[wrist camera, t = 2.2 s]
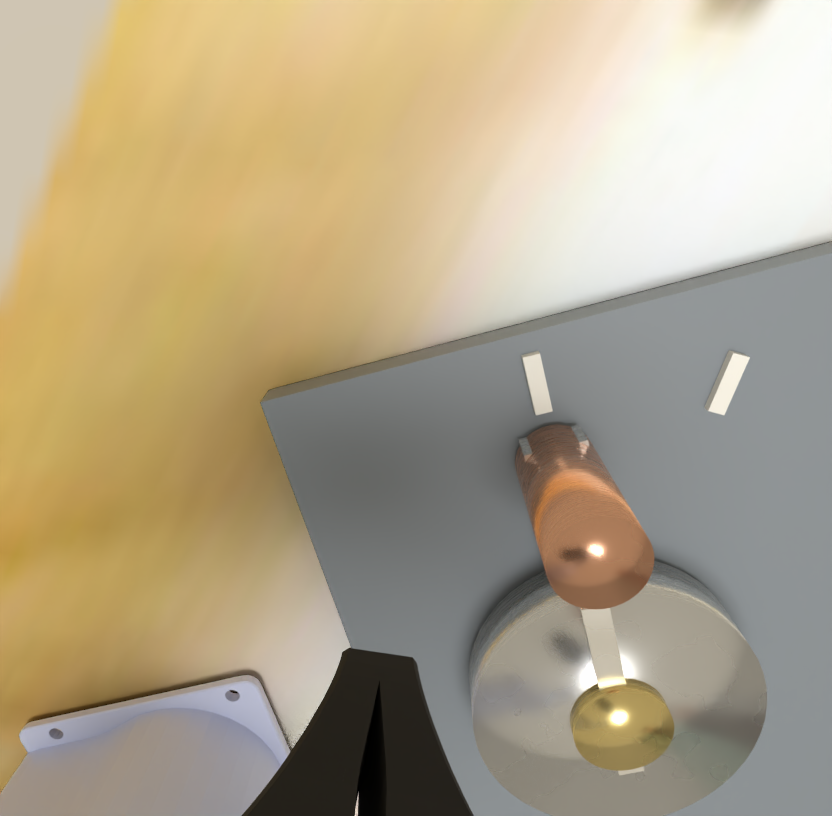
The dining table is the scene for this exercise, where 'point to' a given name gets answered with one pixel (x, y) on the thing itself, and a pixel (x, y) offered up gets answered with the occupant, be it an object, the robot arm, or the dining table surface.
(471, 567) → the board
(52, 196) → the dining table surface
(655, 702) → the dial
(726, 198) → the dining table surface
